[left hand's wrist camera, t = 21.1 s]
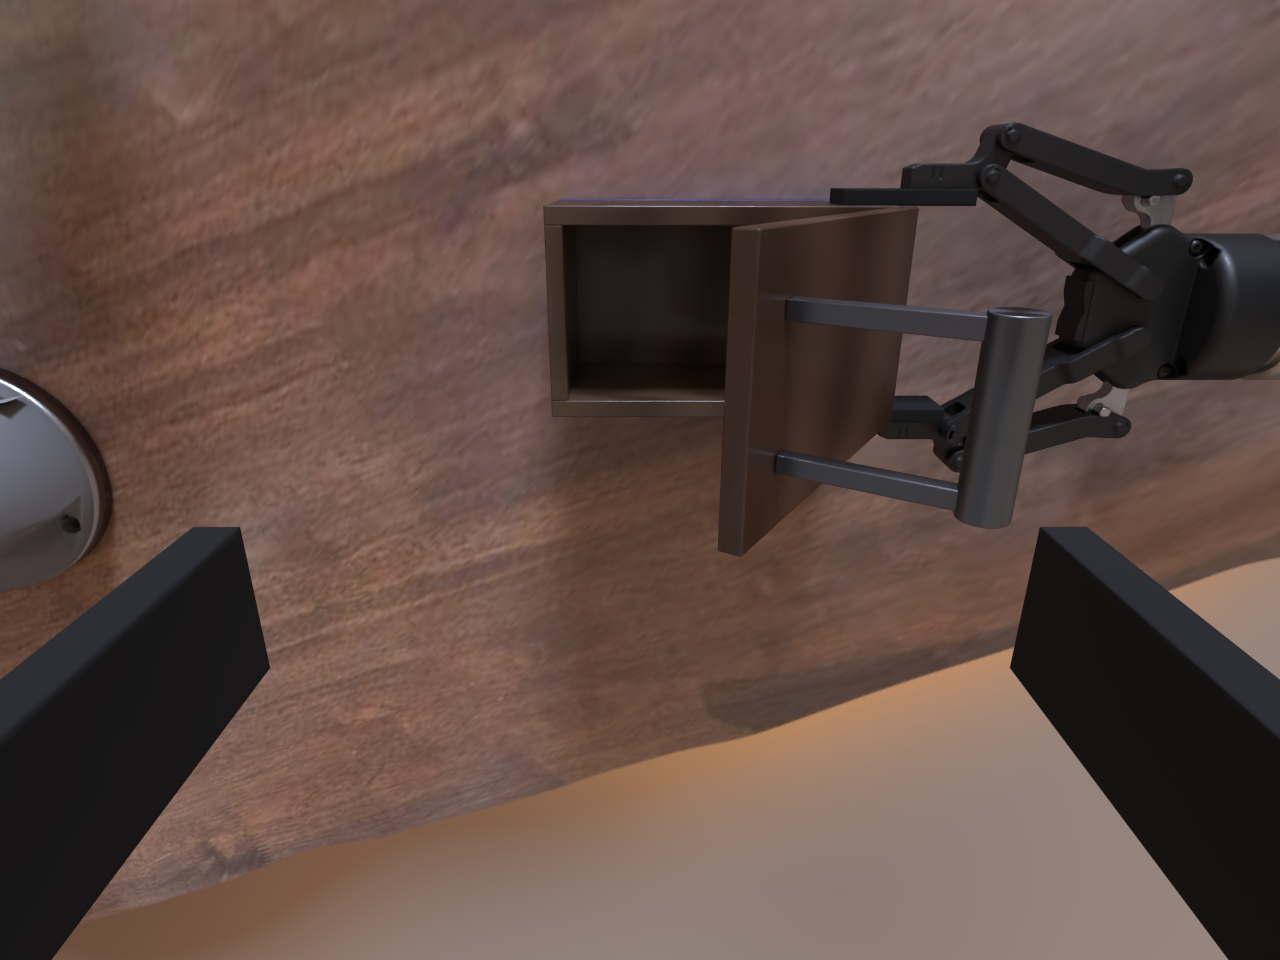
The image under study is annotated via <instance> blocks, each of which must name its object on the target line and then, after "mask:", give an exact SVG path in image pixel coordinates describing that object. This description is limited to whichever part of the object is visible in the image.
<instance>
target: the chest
mask: <svg viewBox="0 0 1280 960" xmlns="http://www.w3.org/2000/svg"><path fill="white" fill-rule="evenodd" d="M895 207H905V206H897V205H838V204H831V203H830V200H715V199H560V200H558V201H556V202H553V203H550V204H547V205H545V206H543V209H544V225H545V226H544V231H545V255H546V279H547V303H548V327H549V351H550V375H551V399H552V416H553V417H724V399H725V376H726V354H727V332H728V309H729V287H730V265H731V242H732V229H733V228H734V227H739V226H748V225H756V224H764V223H772V222H780V221H788V220H797V219H805V218H813V217H821V216H829V215H837V214H846V213H854V212H862V211H870V210H878V209H887V208H895Z"/></svg>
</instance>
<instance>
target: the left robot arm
mask: <svg viewBox="0 0 1280 960" xmlns="http://www.w3.org/2000/svg"><path fill="white" fill-rule="evenodd" d="M110 512H111V487H110V481H109V477H108V473H107V470H106V467H105V464H104V461H103V459H102V457H101V454H100V452H99V450H98V449H97V447H96V445H95V443H94V441H93V440H92V438H91V437H90V435H89V434H88V432H87V431H86V430H85V428H84V427H83V426H82V424H81V423H80V422H79V421H78V420H77V419H76V417H75V416H74V415H73V414H72V413H71V412H70V411H69V410H68V409H67V408H66V407H65V406H64V405H63V404H62V403H60V402H59V401H58V400H57V399H55V398H54V397H53V396H52V395H50V394H49V393H48V392H46V391H45V390H43V389H42V388H40V387H39V386H37V385H35V384H34V383H32V382H30V381H29V380H27V379H25V378H23V377H21V376H19V375H17V374H14V373H12V372H9V371H7V370H4V369H1V368H0V593H3V592H7V591H10V590H14V589H18V588H22V587H26V586H30V585H34V584H37V583H41V582H43V581H46V580H49V579H51V578H53V577H55V576H58V575H59V574H61V573H62V572H64V571H66V570H67V569H68V568H70V567H71V566H73V565H74V564H76V563H77V562H79V561H80V560H81V559H83V558H84V557H85V556H86V555H88V554H89V553H90V552H91V551H92V550H93V549H94V548H95V547H96V545H97V544H98V542H99V541H100V540H101V538H102V536H103V534H104V532H105V530H106V527H107V525H108V521H109V517H110ZM269 669H270V665H269V661H268V656H267V651H266V647H265V642H264V637H263V633H262V628H261V623H260V618H259V614H258V609H257V604H256V600H255V595H254V590H253V586H252V581H251V576H250V572H249V567H248V562H247V558H246V553H245V548H244V543H243V539H242V534H241V529H240V527H193V528H192V529H190V530H189V531H188V532H186V533H185V534H184V535H183V536H181V537H180V538H179V539H178V540H176V541H175V542H174V543H173V544H171V545H170V546H169V547H167V548H166V549H165V550H164V551H162V552H161V553H160V554H159V555H157V556H156V557H155V558H154V559H152V560H151V561H150V562H149V563H147V564H146V565H145V566H143V567H142V568H141V569H140V570H138V571H137V572H136V573H135V574H133V575H132V576H131V577H130V578H128V579H127V580H126V581H124V582H123V583H122V584H121V585H119V586H118V587H117V588H116V589H114V590H113V591H112V592H111V593H109V594H108V595H107V596H106V597H104V598H103V599H102V600H100V601H99V602H98V603H97V604H95V605H94V606H93V607H92V608H90V609H89V610H88V611H87V612H85V613H84V614H83V615H81V616H80V617H79V618H78V619H76V620H75V621H74V622H73V623H71V624H70V625H69V626H68V627H66V628H65V629H64V630H62V631H61V632H60V633H59V634H57V635H56V636H55V637H54V638H52V639H51V640H50V641H49V642H47V643H46V644H45V645H44V646H42V647H41V648H40V649H38V650H37V651H36V652H35V653H33V654H32V655H31V656H30V657H28V658H27V659H26V660H25V661H23V662H22V663H21V664H19V665H18V666H17V667H16V668H14V669H13V670H12V671H11V672H9V673H8V674H7V675H6V676H4V677H3V678H2V679H1V680H0V960H52V958H53V957H54V956H55V954H56V953H57V952H58V950H59V949H60V948H61V946H62V945H63V944H64V942H65V941H66V940H67V938H68V937H69V936H70V934H71V933H72V932H73V930H74V929H75V928H76V926H77V925H78V924H79V922H80V921H81V920H82V918H83V917H84V916H85V914H86V913H87V912H88V910H89V909H90V908H91V906H92V905H93V904H94V902H95V901H96V900H97V898H98V897H99V896H100V894H101V893H102V892H103V890H104V889H105V888H106V886H107V885H108V884H109V882H110V881H111V880H112V878H113V877H114V876H115V874H116V873H117V872H118V870H119V869H120V868H121V866H122V865H123V864H124V862H125V861H126V860H127V858H128V857H129V856H130V854H131V853H132V852H133V850H134V849H135V848H136V846H137V845H138V844H139V842H140V841H141V840H142V838H143V837H144V836H145V834H146V833H147V832H148V830H149V829H150V828H151V826H152V825H153V823H154V822H155V821H156V819H157V818H158V817H159V815H160V814H161V813H162V811H163V810H164V809H165V807H166V806H167V805H168V803H169V802H170V801H171V799H172V798H173V797H174V795H175V794H176V793H177V791H178V790H179V789H180V787H181V786H182V785H183V783H184V782H185V781H186V779H187V778H188V777H189V775H190V774H191V773H192V771H193V770H194V769H195V767H196V766H197V765H198V763H199V762H200V761H201V759H202V758H203V757H204V755H205V754H206V753H207V751H208V750H209V749H210V747H211V746H212V745H213V743H214V742H215V741H216V739H217V738H218V737H219V735H220V734H221V733H222V731H223V730H224V729H225V727H226V726H227V725H228V723H229V722H230V721H231V719H232V718H233V717H234V715H235V714H236V713H237V711H238V710H239V709H240V707H241V706H242V705H243V703H244V702H245V701H246V699H247V698H248V697H249V695H250V694H251V693H252V691H253V690H254V689H255V687H256V686H257V685H258V683H259V682H260V681H261V679H262V678H263V677H264V675H265V674H266V673H267V671H268V670H269ZM1010 669H1011V670H1012V671H1013V673H1014V674H1015V675H1016V677H1017V678H1018V679H1019V681H1020V682H1021V683H1022V685H1023V686H1024V687H1025V689H1026V690H1027V691H1028V693H1029V694H1030V695H1031V697H1032V698H1033V699H1034V701H1035V702H1036V703H1037V705H1038V706H1039V707H1040V709H1041V710H1042V711H1043V713H1044V714H1045V715H1046V717H1047V718H1048V719H1049V721H1050V722H1051V723H1052V725H1053V726H1054V727H1055V729H1056V730H1057V731H1058V733H1059V734H1060V735H1061V737H1062V738H1063V739H1064V741H1065V742H1066V743H1067V745H1068V746H1069V747H1070V749H1071V750H1072V751H1073V753H1074V754H1075V755H1076V757H1077V758H1078V759H1079V761H1080V762H1081V763H1082V765H1083V766H1084V767H1085V769H1086V770H1087V771H1088V773H1089V774H1090V775H1091V777H1092V778H1093V779H1094V781H1095V782H1096V783H1097V785H1098V786H1099V787H1100V789H1101V790H1102V791H1103V793H1104V794H1105V795H1106V797H1107V798H1108V799H1109V801H1110V802H1111V803H1112V805H1113V806H1114V807H1115V809H1116V810H1117V811H1118V813H1119V814H1120V815H1121V817H1122V818H1123V819H1124V821H1125V822H1126V823H1127V825H1128V826H1129V828H1130V829H1131V830H1132V831H1133V833H1134V834H1135V835H1136V837H1137V838H1138V840H1139V841H1140V842H1141V844H1142V845H1143V846H1144V848H1145V849H1146V850H1147V852H1148V853H1149V854H1150V856H1151V857H1152V858H1153V860H1154V861H1155V862H1156V864H1157V865H1158V866H1159V868H1160V869H1161V870H1162V871H1163V873H1164V874H1165V876H1166V877H1167V878H1168V880H1169V881H1170V882H1171V884H1172V885H1173V886H1174V888H1175V889H1176V890H1177V891H1178V893H1179V894H1180V896H1181V897H1182V898H1183V900H1184V901H1185V902H1186V904H1187V905H1188V906H1189V908H1190V909H1191V910H1192V911H1193V913H1194V914H1195V916H1196V917H1197V918H1198V920H1199V921H1200V922H1201V924H1202V925H1203V926H1204V928H1205V929H1206V930H1207V932H1208V933H1209V934H1210V936H1211V937H1212V938H1213V940H1214V941H1215V942H1216V944H1217V945H1218V946H1219V948H1220V949H1221V950H1222V952H1223V953H1224V954H1225V956H1226V957H1227V958H1228V960H1280V680H1279V679H1278V678H1277V677H1276V676H1274V675H1273V674H1272V673H1271V672H1269V671H1268V670H1267V669H1266V668H1264V667H1263V666H1262V665H1260V664H1259V663H1258V662H1257V661H1255V660H1254V659H1253V658H1252V657H1250V656H1249V655H1248V654H1247V653H1245V652H1244V651H1243V650H1241V649H1240V648H1239V647H1238V646H1236V645H1235V644H1234V643H1233V642H1231V641H1230V640H1229V639H1228V638H1226V637H1225V636H1224V635H1223V634H1221V633H1220V632H1219V631H1217V630H1216V629H1215V628H1214V627H1212V626H1211V625H1210V624H1209V623H1207V622H1206V621H1205V620H1204V619H1202V618H1201V617H1200V616H1199V615H1197V614H1196V613H1195V612H1193V611H1192V610H1191V609H1190V608H1188V607H1187V606H1186V605H1185V604H1183V603H1182V602H1181V601H1180V600H1178V599H1177V598H1176V597H1174V596H1173V595H1172V594H1171V593H1169V592H1168V591H1167V590H1166V589H1164V588H1163V587H1162V586H1161V585H1159V584H1158V583H1157V582H1156V581H1154V580H1153V579H1152V578H1150V577H1149V576H1148V575H1147V574H1145V573H1144V572H1143V571H1142V570H1140V569H1139V568H1138V567H1137V566H1135V565H1134V564H1133V563H1131V562H1130V561H1129V560H1128V559H1126V558H1125V557H1124V556H1123V555H1121V554H1120V553H1119V552H1118V551H1116V550H1115V549H1114V548H1113V547H1111V546H1110V545H1109V544H1107V543H1106V542H1105V541H1104V540H1102V539H1101V538H1100V537H1099V536H1097V535H1096V534H1095V533H1094V532H1092V531H1091V530H1090V529H1088V528H1087V527H1040V529H1039V534H1038V539H1037V543H1036V548H1035V553H1034V558H1033V562H1032V567H1031V572H1030V576H1029V581H1028V586H1027V590H1026V595H1025V600H1024V604H1023V609H1022V614H1021V618H1020V623H1019V628H1018V633H1017V637H1016V642H1015V647H1014V651H1013V656H1012V661H1011V665H1010Z"/></svg>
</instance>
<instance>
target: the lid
mask: <svg viewBox="0 0 1280 960" xmlns="http://www.w3.org/2000/svg"><path fill="white" fill-rule="evenodd" d="M918 210H919V209H918V207H895V208H887V209H878V210H870V211H862V212H854V213H846V214H837V215H829V216H821V217H813V218H805V219H797V220H788V221H780V222H772V223H764V224H756V225H748V226H739V227H734V228H733V229H732V242H731V265H730V287H729V309H728V332H727V354H726V376H725V399H724V421H723V443H722V466H721V488H720V510H719V533H718V551H721V552H725V553H728V554H732V555H735V556H739V557H740V556H742V555H744V554H745V553H746V552H747V551H748V550H749V549H750V548H751V547H752V546H754V545H755V544H756V543H757V542H758V541H759V540H760V539H761V538H762V537H763V536H765V535H766V534H767V533H768V532H769V531H770V530H771V529H772V528H773V527H775V526H776V525H777V524H778V523H779V522H780V521H781V520H782V519H783V518H784V517H786V516H787V515H788V514H789V513H790V512H791V511H792V510H793V509H794V508H795V507H797V506H798V505H799V504H800V503H801V502H802V501H803V500H804V499H805V498H807V497H808V496H809V495H810V494H811V493H812V492H813V491H814V490H815V489H816V488H818V487H819V486H820V485H821V484H822V483H824V484H828V485H833V486H838V487H843V488H847V489H852V490H857V491H862V492H866V493H871V494H876V495H881V496H885V497H890V498H895V499H900V500H904V501H909V502H914V503H919V504H923V505H928V506H933V507H938V508H942V509H947V510H952V511H953V513H954V516H955V517H956V518H957V519H958V520H959V521H961V522H963V523H966V524H968V525H971V526H975V527H980V528H988V529H997V528H1003V527H1006V526H1008V525H1009V524H1010V523H1011V519H1012V514H1013V509H1014V504H1015V499H1016V494H1017V489H1018V484H1019V479H1020V474H1021V469H1022V464H1023V459H1024V454H1025V449H1026V444H1027V439H1028V434H1029V429H1030V424H1031V419H1032V414H1033V409H1034V404H1035V399H1036V394H1037V389H1038V384H1039V379H1040V374H1041V369H1042V364H1043V359H1044V354H1045V349H1046V344H1047V339H1048V334H1049V329H1050V324H1051V319H1052V314H1051V313H1049V312H1046V311H1042V310H1037V309H1029V308H1017V307H999V308H992V309H989V310H988V311H987V313H984V312H973V311H961V310H949V309H938V308H926V307H915V306H906V302H907V295H908V287H909V279H910V272H911V264H912V256H913V248H914V241H915V233H916V225H917V218H918ZM902 333H907V334H916V335H926V336H936V337H945V338H955V339H964V340H974V341H982V345H981V351H980V357H979V362H978V368H977V374H976V380H975V386H974V392H973V398H972V404H971V410H970V416H969V422H968V428H967V434H966V440H965V445H964V451H963V457H962V463H961V469H960V475H959V481H958V483H953V482H947V481H942V480H937V479H932V478H927V477H922V476H916V475H911V474H906V473H901V472H896V471H890V470H885V469H880V468H875V467H870V466H865V465H859V464H854V463H849V462H846V461H847V460H849V459H850V458H851V457H852V456H853V455H854V454H855V453H856V452H857V451H858V450H860V449H861V448H862V447H863V446H864V445H865V444H866V443H867V442H868V441H869V440H871V439H872V438H873V437H874V436H875V435H876V434H877V433H878V432H879V431H881V430H882V429H883V428H884V427H885V426H886V425H887V424H888V423H889V422H890V421H891V418H892V410H893V403H894V395H895V387H896V380H897V372H898V364H899V356H900V349H901V341H902Z"/></svg>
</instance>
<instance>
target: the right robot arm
mask: <svg viewBox="0 0 1280 960" xmlns="http://www.w3.org/2000/svg"><path fill="white" fill-rule="evenodd" d="M1010 160H1013V161H1016V162H1018V163H1021V164H1024V165H1027V166H1030V167H1032V168H1035V169H1038V170H1041V171H1043V172H1046V173H1049V174H1052V175H1055V176H1057V177H1060V178H1063V179H1066V180H1068V181H1071V182H1074V183H1077V184H1079V185H1082V186H1085V187H1088V188H1091V189H1093V190H1096V191H1099V192H1103V193H1106V194H1113V195H1123V197H1122V199H1121V202H1122V204H1124V207H1125V209H1126V210H1128V211H1130V212H1134V213H1136V214H1138V216H1139V218H1140V225H1139V226H1137V227H1135V228H1133V229H1132V230H1130V231H1129V232H1127V233H1125V234H1124V235H1122V236H1121V237H1119V238H1118V239H1116V240H1115V241H1113V242H1112V243H1111V242H1110V241H1108V240H1106V239H1104V238H1102V237H1100V236H1098V235H1096V234H1094V233H1093V232H1091V231H1090V230H1089V229H1087V228H1086V227H1085V226H1083V225H1082V224H1080V223H1079V222H1078V221H1076V220H1075V219H1074V218H1072V217H1071V216H1069V215H1068V214H1067V213H1065V212H1064V211H1063V210H1061V209H1060V208H1058V207H1057V206H1056V205H1054V204H1053V203H1052V202H1050V201H1049V200H1048V199H1046V198H1045V197H1043V196H1042V195H1041V194H1039V193H1038V192H1037V191H1035V190H1034V189H1032V188H1031V187H1030V186H1028V185H1027V184H1026V183H1024V182H1023V181H1021V180H1020V179H1019V178H1017V177H1016V176H1015V175H1013V174H1012V173H1011V172H1009V171H1008V170H1006V167H1007V165H1008V164H1009V162H1010ZM1192 181H1193V176H1192V173H1191V172H1190V171H1189V170H1188V169H1183V168H1172V169H1143V168H1141V167H1138V166H1135V165H1132V164H1130V163H1127V162H1124V161H1122V160H1119V159H1116V158H1113V157H1111V156H1108V155H1105V154H1102V153H1100V152H1097V151H1094V150H1092V149H1089V148H1086V147H1083V146H1081V145H1078V144H1075V143H1073V142H1070V141H1067V140H1064V139H1062V138H1059V137H1056V136H1053V135H1051V134H1048V133H1045V132H1043V131H1040V130H1037V129H1034V128H1032V127H1029V126H1026V125H1023V124H1021V123H1015V122H1014V123H1006V124H999V125H992V126H989V127H987V128H986V129H985V130H984V131H983V132H982V134H981V136H980V146H979V148H978V150H977V152H976V154H975V155H974V157H973V158H972V159H971V160H969V161H968V162H966V163H963V164H912V165H909V166H907V167H904V168H903V170H902V179H901V187H900V188H831V192H830V203H831V204H838V205H897V206H976V201H977V197H979V198H980V199H982V200H983V201H984V202H986V203H987V204H989V205H990V206H991V207H993V208H994V209H996V210H997V211H998V212H1000V213H1001V214H1003V215H1004V216H1005V217H1007V218H1008V219H1010V220H1011V221H1012V222H1014V223H1015V224H1017V225H1018V226H1019V227H1021V228H1022V229H1024V230H1025V231H1026V232H1028V233H1029V234H1031V235H1032V236H1033V237H1035V238H1036V239H1038V240H1039V241H1040V242H1042V243H1043V244H1045V245H1046V246H1047V247H1049V248H1050V249H1052V250H1053V251H1054V252H1055V254H1056V255H1057V256H1058V257H1059V258H1061V259H1062V260H1064V261H1065V262H1066V263H1068V264H1069V265H1071V266H1072V267H1073V268H1075V270H1074V272H1073V273H1072V275H1071V276H1066V281H1065V286H1064V308H1063V310H1062V312H1061V314H1060V316H1059V318H1058V321H1057V326H1056V331H1055V334H1057V335H1059V338H1058V339H1056V340H1054V341H1052V342H1050V343H1048V344H1047V345H1046V349H1045V354H1044V359H1043V364H1042V369H1041V374H1040V379H1039V384H1038V389H1037V394H1036V399H1037V398H1039V397H1041V396H1043V395H1045V394H1046V393H1048V392H1050V391H1052V390H1054V389H1056V388H1058V387H1060V386H1062V385H1064V384H1070V383H1076V382H1078V381H1081V380H1083V379H1085V378H1086V377H1088V376H1090V375H1092V374H1094V375H1095V376H1096V377H1098V378H1099V379H1100V380H1101V381H1103V385H1102V387H1101V388H1100V390H1098V391H1097V392H1095V393H1092V394H1088V395H1085V396H1081V397H1079V398H1078V400H1077V404H1066V405H1059V406H1055V407H1051V408H1048V409H1044V410H1041V411H1037V412H1033V414H1032V419H1031V424H1030V429H1029V434H1028V439H1027V444H1026V449H1025V454H1027V453H1031V452H1034V451H1038V450H1042V449H1045V448H1049V447H1052V446H1056V445H1059V444H1063V443H1067V442H1070V441H1074V440H1077V439H1081V438H1085V437H1100V438H1121V437H1123V436H1125V435H1126V434H1127V433H1128V432H1129V431H1130V429H1131V423H1130V420H1128V419H1127V418H1125V417H1123V416H1122V415H1123V412H1124V408H1125V405H1126V401H1127V398H1128V394H1129V391H1130V389H1131V388H1134V387H1137V386H1139V385H1141V384H1143V383H1145V382H1148V381H1152V380H1233V379H1238V378H1241V379H1244V380H1280V234H1268V235H1265V236H1264V235H1260V234H1184V233H1182V232H1180V231H1178V230H1177V229H1176V228H1174V227H1172V226H1170V225H1171V220H1172V215H1173V210H1174V205H1175V200H1176V195H1179V194H1183V193H1184V192H1186V191H1187V190H1188V189H1189V188H1190V186H1191V184H1192ZM973 392H974V388H973V389H971V390H969V391H967V392H965V393H963V394H961V395H959V396H958V397H956V398H954V399H952V400H950V401H948V402H946V403H945V404H943V405H941V406H940V405H938V404H937V403H936V402H935V401H933V400H932V399H931V398H929V397H928V396H894V403H893V410H892V418H891V421H890V422H889V423H888V424H887V425H886V426H885V427H884V428H883V429H882V430H881V431H879V432H878V433H877V434H878V435H879V436H881V437H884V438H886V439H933V442H934V447H933V452H934V454H935V455H936V456H937V457H938V458H939V459H940V460H941V461H942V462H943V463H944V464H945V465H946V466H947V467H949V468H950V469H951V470H952V471H954V472H960V469H961V463H962V457H963V451H964V445H965V440H966V434H967V428H968V422H969V416H970V410H971V404H972V398H973Z"/></svg>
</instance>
